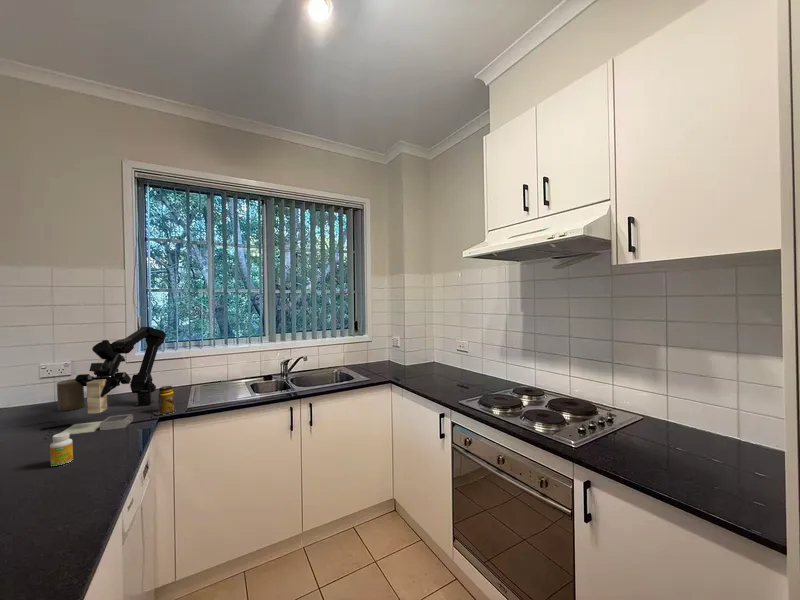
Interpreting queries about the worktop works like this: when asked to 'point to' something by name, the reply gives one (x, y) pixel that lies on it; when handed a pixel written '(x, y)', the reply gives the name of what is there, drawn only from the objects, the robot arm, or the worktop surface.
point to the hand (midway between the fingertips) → (94, 396)
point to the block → (96, 396)
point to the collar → (116, 422)
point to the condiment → (166, 399)
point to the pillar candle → (70, 395)
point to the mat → (83, 428)
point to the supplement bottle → (61, 449)
